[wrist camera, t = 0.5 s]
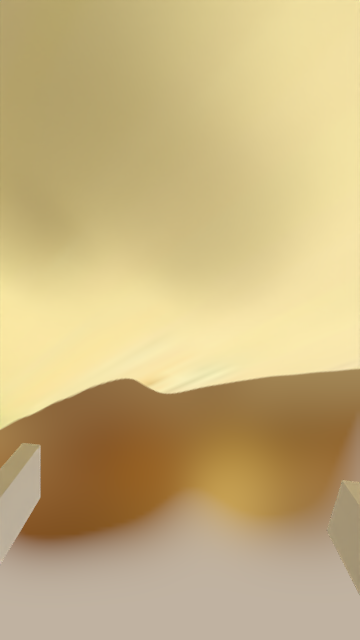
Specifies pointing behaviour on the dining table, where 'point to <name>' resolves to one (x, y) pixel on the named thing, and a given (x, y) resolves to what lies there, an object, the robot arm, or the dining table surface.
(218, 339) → the dining table surface
